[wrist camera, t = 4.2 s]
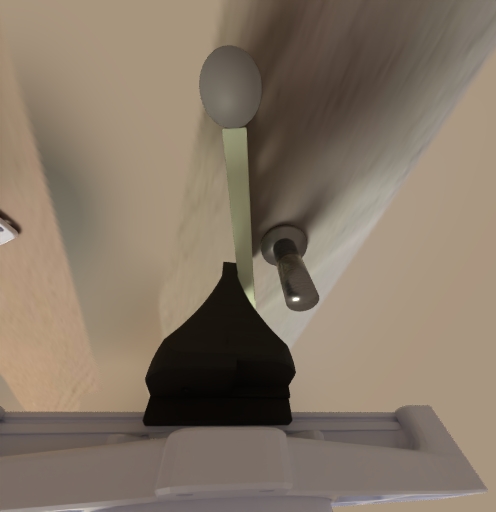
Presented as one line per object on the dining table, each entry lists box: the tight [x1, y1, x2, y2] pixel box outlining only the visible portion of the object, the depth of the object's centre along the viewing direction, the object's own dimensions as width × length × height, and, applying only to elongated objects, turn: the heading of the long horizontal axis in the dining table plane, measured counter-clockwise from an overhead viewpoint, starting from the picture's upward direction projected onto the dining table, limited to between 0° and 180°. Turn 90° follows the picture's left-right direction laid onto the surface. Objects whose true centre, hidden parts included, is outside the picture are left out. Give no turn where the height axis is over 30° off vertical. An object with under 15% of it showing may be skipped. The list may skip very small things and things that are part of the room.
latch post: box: [261, 225, 319, 311], centre depth 14 cm, size 4×4×6 cm
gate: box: [199, 46, 262, 310], centre depth 11 cm, size 12×2×6 cm, turn 3°
